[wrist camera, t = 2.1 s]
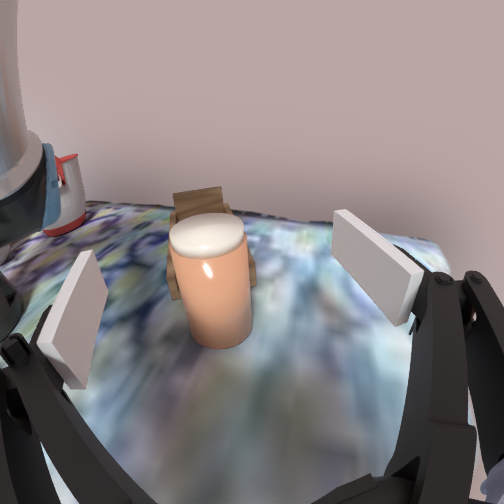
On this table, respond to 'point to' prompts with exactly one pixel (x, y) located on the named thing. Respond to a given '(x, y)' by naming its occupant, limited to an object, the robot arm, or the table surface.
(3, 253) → the teacup
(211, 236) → the jar
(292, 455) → the table surface
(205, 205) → the tray
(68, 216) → the citrus juicer
